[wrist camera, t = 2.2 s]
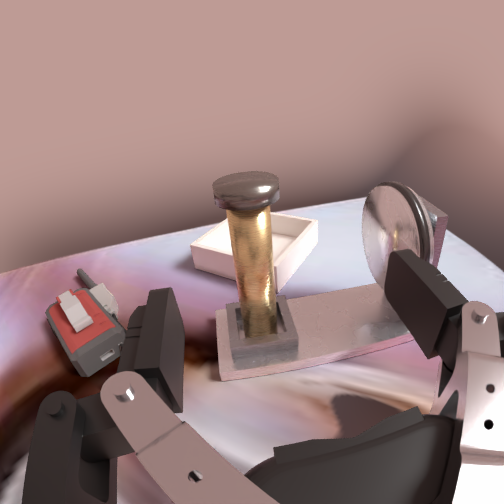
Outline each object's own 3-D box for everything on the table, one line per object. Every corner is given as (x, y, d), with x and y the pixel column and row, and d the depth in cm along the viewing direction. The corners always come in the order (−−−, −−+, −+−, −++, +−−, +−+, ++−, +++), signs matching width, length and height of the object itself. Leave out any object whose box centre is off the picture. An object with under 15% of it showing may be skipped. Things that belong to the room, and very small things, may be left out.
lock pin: (227, 340, 27) (199, 189, 20) (252, 310, 30) (236, 169, 23) (270, 357, 25) (256, 195, 18) (293, 324, 28) (289, 174, 21)
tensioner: (222, 388, 24) (184, 242, 17) (217, 313, 32) (192, 186, 25) (433, 340, 25) (473, 205, 18) (391, 283, 33) (407, 166, 26)
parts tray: (195, 268, 40) (189, 244, 38) (244, 228, 48) (242, 207, 47) (277, 293, 34) (276, 266, 32) (317, 243, 43) (317, 220, 41)
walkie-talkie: (157, 343, 29) (88, 275, 41) (144, 311, 27) (78, 249, 39) (88, 390, 24) (40, 302, 36) (66, 360, 22) (27, 277, 34)
